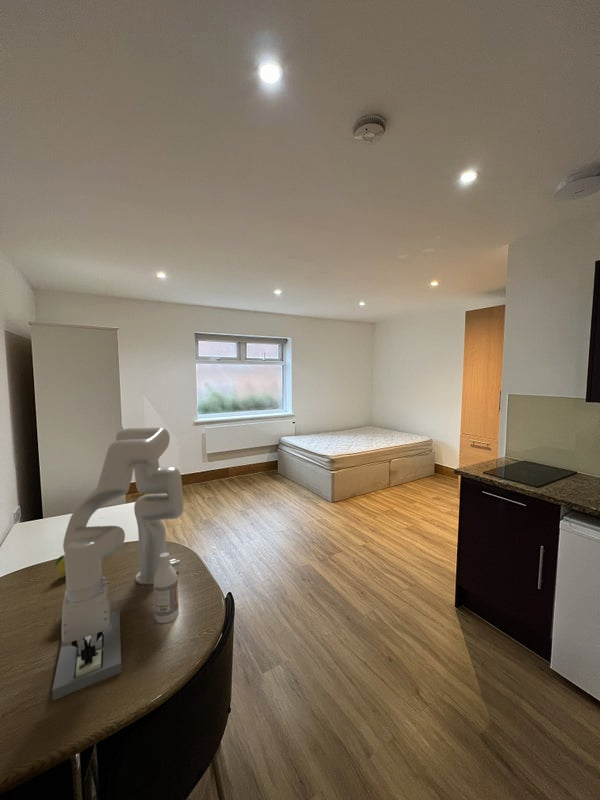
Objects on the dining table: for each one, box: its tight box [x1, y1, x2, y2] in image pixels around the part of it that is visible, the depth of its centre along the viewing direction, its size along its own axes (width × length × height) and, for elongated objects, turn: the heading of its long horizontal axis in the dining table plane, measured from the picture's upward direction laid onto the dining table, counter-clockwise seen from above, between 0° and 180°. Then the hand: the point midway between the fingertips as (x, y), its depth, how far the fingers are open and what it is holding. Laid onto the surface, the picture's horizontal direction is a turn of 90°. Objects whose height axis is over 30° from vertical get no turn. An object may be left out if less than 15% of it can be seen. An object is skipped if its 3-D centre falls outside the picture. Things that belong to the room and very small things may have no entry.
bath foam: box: [153, 551, 180, 624], centre depth 101 cm, size 7×7×20 cm
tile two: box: [78, 635, 103, 656], centre depth 88 cm, size 5×5×3 cm
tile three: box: [76, 649, 103, 678], centre depth 82 cm, size 5×5×3 cm
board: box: [51, 609, 122, 701], centre depth 88 cm, size 14×23×2 cm, turn 30°
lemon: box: [55, 554, 66, 577], centre depth 125 cm, size 7×6×10 cm
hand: (88, 659), depth 81 cm, fingers closed
